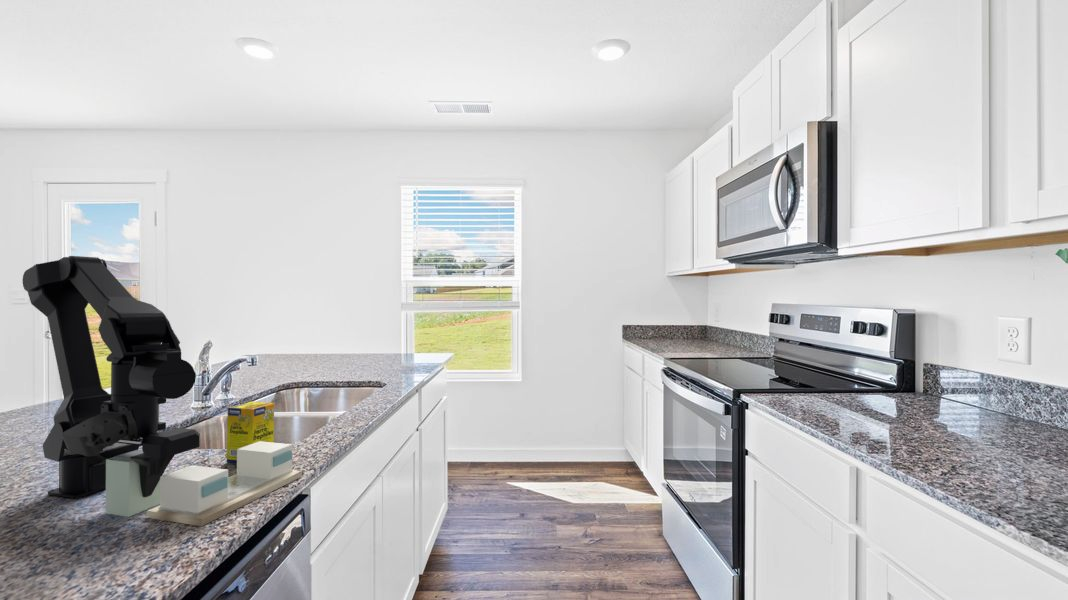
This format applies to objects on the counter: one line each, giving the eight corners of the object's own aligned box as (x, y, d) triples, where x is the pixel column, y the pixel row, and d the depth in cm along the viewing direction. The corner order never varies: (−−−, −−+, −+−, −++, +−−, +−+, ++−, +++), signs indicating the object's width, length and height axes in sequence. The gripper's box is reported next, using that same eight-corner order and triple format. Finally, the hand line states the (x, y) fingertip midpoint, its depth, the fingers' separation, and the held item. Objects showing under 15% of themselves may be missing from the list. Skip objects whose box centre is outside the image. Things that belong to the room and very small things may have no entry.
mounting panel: (146, 517, 72) (146, 510, 72) (255, 471, 91) (255, 465, 91) (201, 526, 69) (201, 519, 69) (301, 476, 88) (301, 471, 88)
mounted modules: (160, 507, 72) (160, 476, 72) (259, 465, 90) (259, 441, 90) (200, 513, 70) (200, 481, 70) (293, 469, 88) (294, 444, 88)
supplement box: (252, 466, 94) (253, 408, 94) (225, 463, 95) (226, 407, 95) (274, 456, 100) (275, 402, 100) (249, 454, 101) (249, 400, 101)
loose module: (105, 513, 73) (106, 457, 73) (139, 499, 78) (140, 447, 78) (128, 516, 72) (129, 460, 72) (162, 503, 77) (162, 450, 77)
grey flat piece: (158, 510, 72) (158, 507, 72) (260, 467, 90) (260, 465, 90) (196, 516, 70) (196, 513, 70) (292, 471, 88) (292, 468, 88)
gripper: (25, 399, 69) (24, 509, 69) (127, 407, 65) (126, 526, 65) (111, 385, 80) (110, 481, 80) (203, 392, 75) (202, 493, 75)
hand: (134, 494), depth 75 cm, fingers closed on loose module, 4 cm apart
